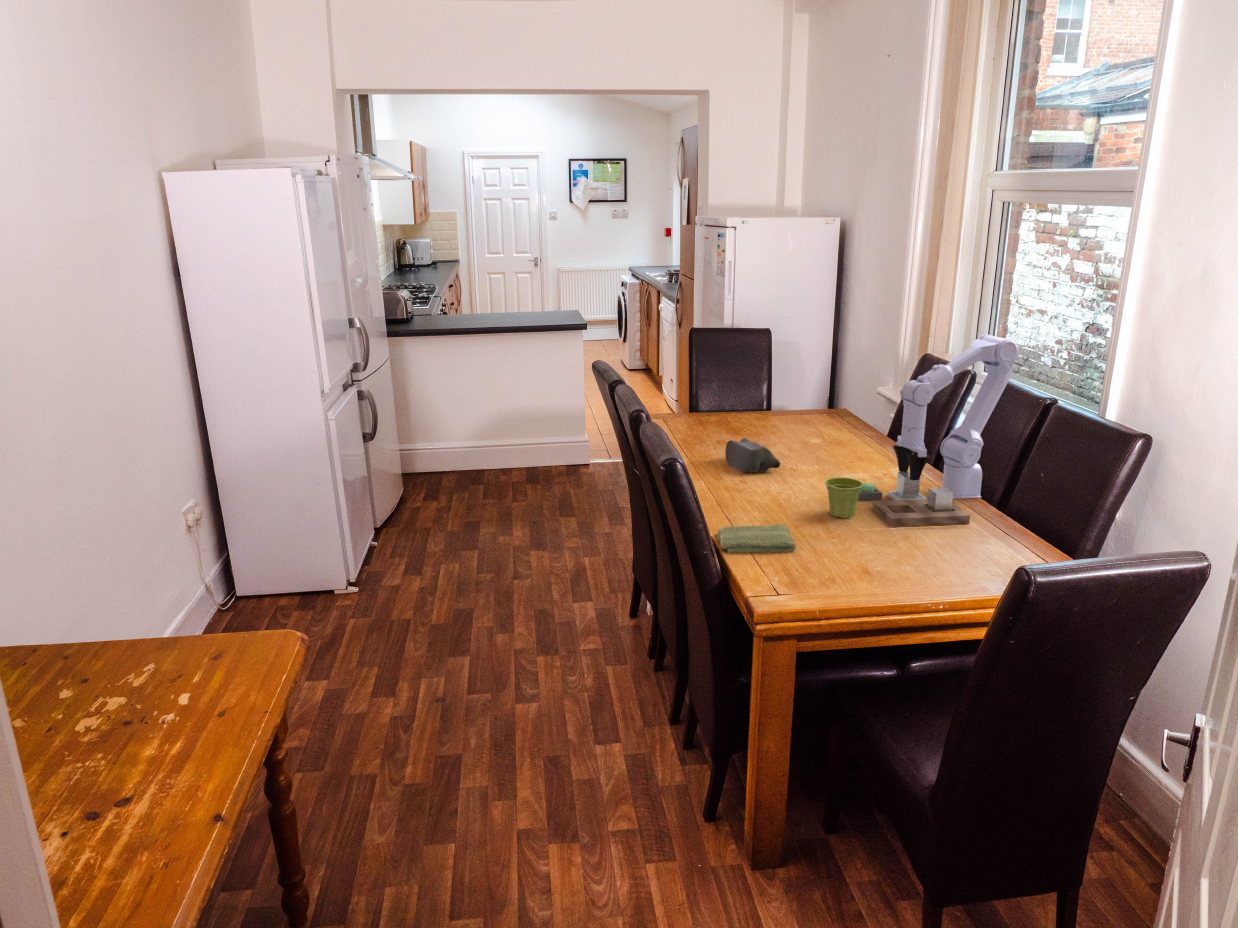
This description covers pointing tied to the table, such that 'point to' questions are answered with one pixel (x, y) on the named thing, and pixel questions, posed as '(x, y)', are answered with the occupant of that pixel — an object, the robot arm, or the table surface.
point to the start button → (867, 487)
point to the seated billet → (940, 499)
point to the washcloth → (756, 539)
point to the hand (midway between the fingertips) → (908, 475)
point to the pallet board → (917, 513)
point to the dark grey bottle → (749, 456)
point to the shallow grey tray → (893, 496)
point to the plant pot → (843, 496)
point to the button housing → (870, 495)
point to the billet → (907, 486)
